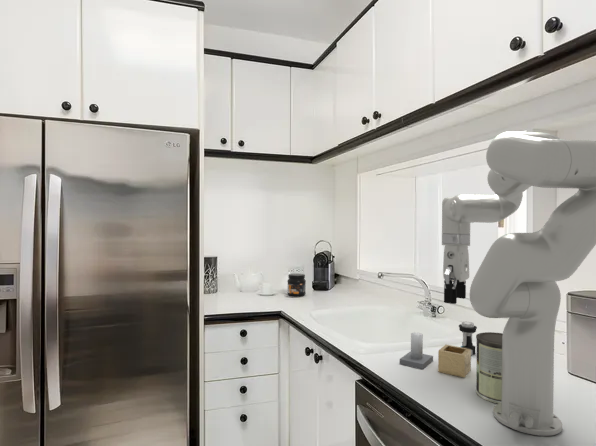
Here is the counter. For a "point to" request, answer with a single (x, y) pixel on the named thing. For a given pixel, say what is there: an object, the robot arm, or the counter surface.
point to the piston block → (416, 353)
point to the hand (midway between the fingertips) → (455, 300)
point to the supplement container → (296, 285)
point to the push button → (468, 335)
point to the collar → (454, 360)
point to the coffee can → (489, 366)
